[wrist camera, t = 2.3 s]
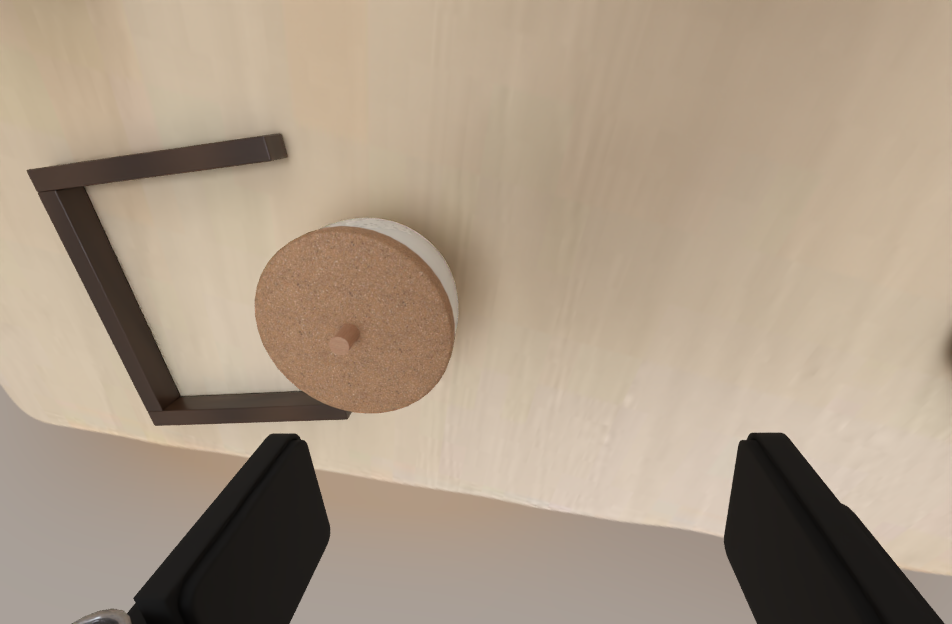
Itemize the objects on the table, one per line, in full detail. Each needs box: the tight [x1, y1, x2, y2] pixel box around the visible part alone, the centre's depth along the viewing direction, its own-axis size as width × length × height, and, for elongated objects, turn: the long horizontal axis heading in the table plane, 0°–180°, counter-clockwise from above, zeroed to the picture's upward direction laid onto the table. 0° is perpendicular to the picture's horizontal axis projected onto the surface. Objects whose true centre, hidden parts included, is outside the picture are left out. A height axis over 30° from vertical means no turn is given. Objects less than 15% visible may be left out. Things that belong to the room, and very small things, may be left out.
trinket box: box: [255, 218, 459, 413], centre depth 27 cm, size 11×11×9 cm
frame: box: [27, 134, 352, 426], centre depth 32 cm, size 16×20×2 cm
